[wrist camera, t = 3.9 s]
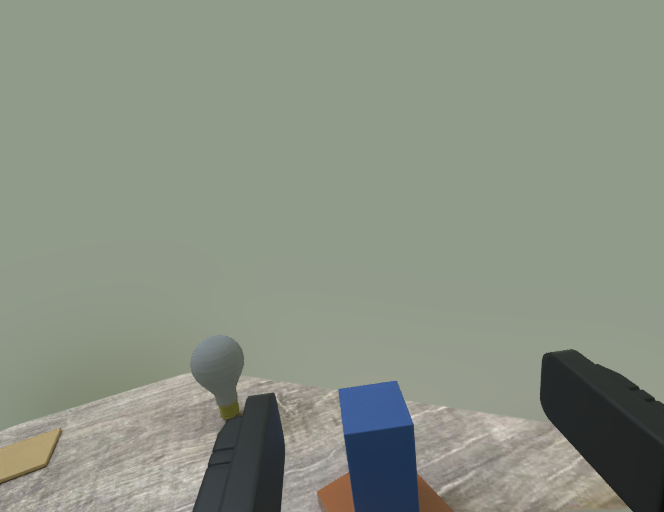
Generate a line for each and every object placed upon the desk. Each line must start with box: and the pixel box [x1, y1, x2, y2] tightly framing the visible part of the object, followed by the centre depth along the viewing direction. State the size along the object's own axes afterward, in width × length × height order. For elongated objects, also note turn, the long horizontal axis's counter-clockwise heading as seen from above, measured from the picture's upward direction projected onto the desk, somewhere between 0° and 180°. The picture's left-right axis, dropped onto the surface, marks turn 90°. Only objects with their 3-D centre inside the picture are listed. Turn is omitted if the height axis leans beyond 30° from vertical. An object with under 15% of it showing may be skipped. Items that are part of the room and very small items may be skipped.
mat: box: [0, 428, 62, 483], centre depth 37 cm, size 6×6×1 cm
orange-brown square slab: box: [317, 472, 453, 512], centre depth 26 cm, size 8×8×2 cm
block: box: [338, 381, 419, 512], centre depth 25 cm, size 4×4×9 cm
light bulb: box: [190, 335, 244, 419], centre depth 38 cm, size 5×6×10 cm
